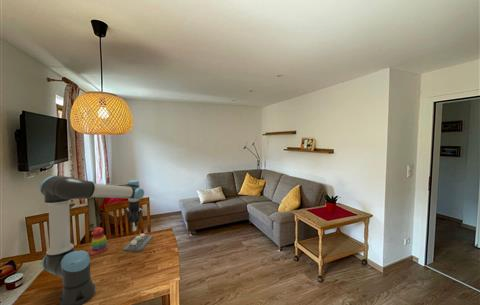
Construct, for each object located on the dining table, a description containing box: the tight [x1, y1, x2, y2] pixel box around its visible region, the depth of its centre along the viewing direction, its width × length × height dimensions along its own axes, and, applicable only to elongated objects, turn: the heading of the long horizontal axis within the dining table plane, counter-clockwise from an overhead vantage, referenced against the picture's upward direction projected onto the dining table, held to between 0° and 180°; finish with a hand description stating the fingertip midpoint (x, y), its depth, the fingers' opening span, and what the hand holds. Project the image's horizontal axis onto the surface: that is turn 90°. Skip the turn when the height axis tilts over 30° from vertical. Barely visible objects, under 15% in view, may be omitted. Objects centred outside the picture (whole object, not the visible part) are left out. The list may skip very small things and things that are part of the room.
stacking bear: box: [89, 226, 108, 256], centre depth 155 cm, size 11×10×18 cm
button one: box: [130, 239, 137, 246], centre depth 158 cm, size 4×4×3 cm
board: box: [122, 234, 154, 252], centre depth 165 cm, size 20×14×3 cm
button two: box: [135, 235, 141, 242], centre depth 164 cm, size 4×4×3 cm
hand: (134, 230), depth 159 cm, fingers closed
